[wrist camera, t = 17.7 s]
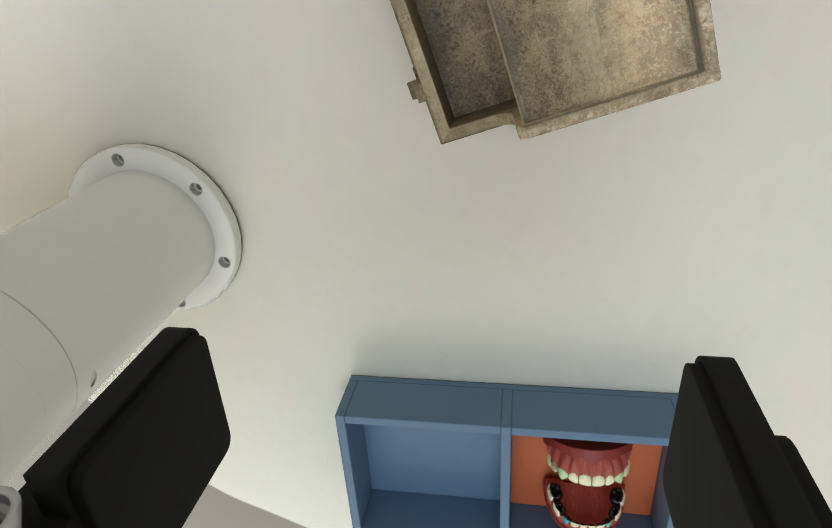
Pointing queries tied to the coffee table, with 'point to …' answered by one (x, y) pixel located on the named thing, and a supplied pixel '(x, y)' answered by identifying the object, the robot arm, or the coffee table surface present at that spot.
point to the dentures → (586, 482)
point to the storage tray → (489, 450)
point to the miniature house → (551, 59)
